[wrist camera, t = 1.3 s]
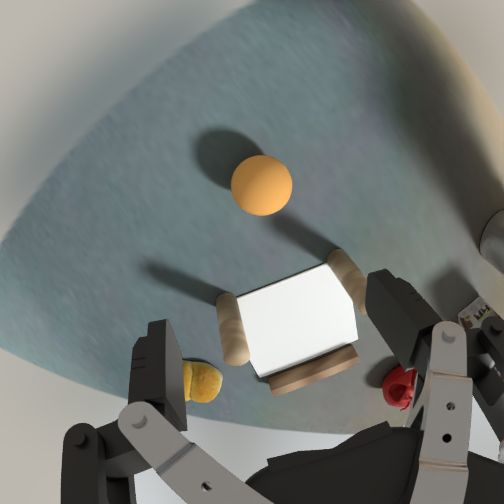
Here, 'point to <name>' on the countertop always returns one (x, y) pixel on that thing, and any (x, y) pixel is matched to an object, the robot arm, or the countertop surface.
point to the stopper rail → (313, 371)
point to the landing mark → (296, 320)
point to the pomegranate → (399, 387)
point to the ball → (261, 185)
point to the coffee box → (477, 318)
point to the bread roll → (201, 381)
